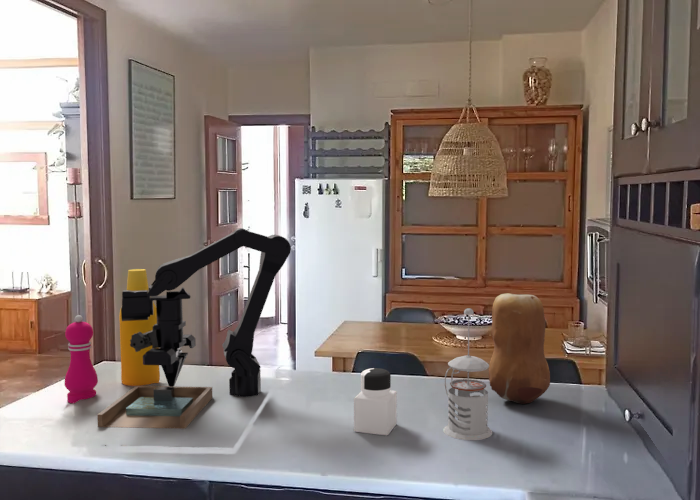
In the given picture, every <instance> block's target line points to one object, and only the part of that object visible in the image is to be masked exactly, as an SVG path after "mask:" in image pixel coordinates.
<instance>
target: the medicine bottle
mask: <svg viewBox="0 0 700 500" xmlns="http://www.w3.org/2000/svg"><path fill="white" fill-rule="evenodd" d="M391 376H392V375H391V372H390V371H389V370H387V369H385V368H379V367H378V368H374V367H373V368H367V369H365V370H362V372H360V392H359V393H358V394H357V395H356V396H355V397H354V398H353V431H354V432H356V433H363V434H371V435H378V436H388V435H390V433H391V431H392V430H393V429H394V428H395V427H396V425H397V424H398V418H397V417H398V415H397V414H398V413H397V412H398V411H397V409H398V404H397V403H398V396H397V395H398V392H397V391H396V390H391V389H392V388H391V387H392V386H391V384H392V383H391V381H392V379H391Z"/></svg>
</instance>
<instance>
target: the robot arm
mask: <svg viewBox="0 0 700 500" xmlns="http://www.w3.org/2000/svg"><path fill="white" fill-rule="evenodd" d="M242 247H243V248H244V247H245V248H247V249H248V248H249V249H252V250H255V251H258V252H260V256H259V267H258V268H259V269H258V271H257V274H256V277H255V280H254V283H253V285H252V287H251V290H250V293H249V296H248V299H247V301H246V304H245V307H244V309H243V312H242V314H241V317H240V320H239V323H238V325H237V326H236V328H235V329H234V330H233V331H232V330H230V329H227V332H226V337H225V339H224V342H223V343H222V344H221V345H222V349H223V355H224V358H225V361H226V363H227V365H229V367H230V368H232V369H233V370H232V371H231V373H230V374H231V376H230V377H229V382H228V383H229V387H228V388H229V389H228V390H229V395H230V396H236V397H240V398H241V397H242V398H245V397H246V398H247V397H248V398H249V397H254V396H259V395H260V393H261V382H262V381H261V378H262V377H261V365H260V363H259V362H258V359H257V357H256V356H255V355H254V354H253V348H254V341H255V340H254V339H255V331H256V329H257V326H258V324H259V321H260V318H261V315H262V312H263V309H264V307H265V304H266V302H267V299H268V296H269V293H270V291H271V288H272V286H273V283H274V280H275V278H276V276H277V274H278V273H279V272H280V270H281V269H282V267H283V266H284V264H285V263H286V261H287V259H288V258H289V256H290V254H291V251H292V247H291V244H290V242H289V240H288V239H287V238H286V237H284V236H282V235H279V234H271V235H269V236H267V235H263V234H259V233H256V232H252V231H249V230H247V229H244V228H236V229H235V230H234V231H232V232H230V233H229V234H227V235H225V236H224V237H222V238H220V239H218V240H216V241H214V242H213V243H211V244H209V245H206V246H204V247H203V248H201V249H199V250H197V251H196V252H193V253H192V254H189V255H187V256H186V255H185V256H183V257H179V258H176V259H173V260H169V261H167V262H164V263H161V265H159V266H158V267H157V268H156V271H155V274H154V275H155V277H154V280H153V281H152V283H151V284H150V285H149V284H148V288H149V289H148V290H142V291H131V290H127V289H125V290H124V289H123V290H122V292H121V307H120V309H121V317H122V321H136V320H148V317H150V315H153V302H154V301H155V306H156V314H157V324H155V325H154V326H153V330H151V331H148V332H146V333H143V334H142V333H141V332H138V333H136V334H133V335H132V338H131V340H130V341H131V344H130V346H131V347H133V348H135V351H136V352H138V351H140V350H141V349H144V348H146V347H149V346H152V349H150V350H149V351H147V352H146V353H145V354H144V355H143V365H159V366H160V367H161V368H162V371H163V373H164V376H165V379H166V381H167V385H168V386H170V387H173V386H175V385H176V382H177V380H178V378H179V375H180V374H181V371H182V368H183V366H184V364H185V361H186V359H187V356H188V355H189V352H183V350H182V349H181V348H183V347H189V349H193V348H195V347H196V345H197V344H196V337H194V335H193V334H184V327H185V326H187V324H186V320H184V317H183V316H184V315H183V314H184V313H183V300H189V299H191V294H190V293H189V292H188V291H187V290H186V289H185V287H181V288H180V289H179V290H176V289H177V288H178V287H180V286H181V285H183V284H184V283H185V282H187V280H189V279H190V277H191V276H193V275H195V273H197V272H198V271H199V270H201V269H203V268H205V267H207V266H208V265H209V266H210V265H211V264H213V263H214V262H216V261H218V260H220V259H222V258H223V257H225V256H227V255H229V254H231V253H232V252H235V251H236V250H238V249H240V248H242ZM173 290H174V291H173ZM165 291H166V293H165V295H163V294H162V293H164V292H165ZM160 294H162V295H160ZM150 296H151V297H150Z"/></svg>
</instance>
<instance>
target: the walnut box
mask: <svg viewBox="0 0 700 500" xmlns="http://www.w3.org/2000/svg"><path fill="white" fill-rule="evenodd" d="M156 387H170V386H169V385H168V386H166V385H162V386H161V385H141V386H133V388H131V389H129V390H128V391H127V392H125V393H124V394H123V395H121V396H120V397H119V398H117V399H116V400H115V401H113V402H112V403H110V404H109V406H107V407H105V408H104V409H103V410H101V411H100V412H99V413H97V414H96V416H97V417H96V418H97V428H129V429H130V428H133V429H134V428H136V429H140V428H141V429H182V430H184V429H185V430H186V429H187V427H188V426H189V425H190V423H192V422H193V421H194V419H195V418H197V416H198V415H199V414H200V413H201V412H202V410H203V409H204V408H205V407H206V406H207V405H208V403H209V402H210V401H211V400H212V399H213V398H214V397H213V386H175V385H174V386H173V387H174V393H175V397H177V398H193V403H192V404H191V405H190V406H189V407H188V408H187V409H186V410H185V411H184V412H183V413H182V414H181V415H180V416H133V415H126V408H127V407H128V406H130V405H131V404H132V403H133V402H135V401H136V400H137V399H138V398H140V397H154V391H153V390H154V389H155V388H156Z"/></svg>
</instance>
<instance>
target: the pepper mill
mask: <svg viewBox="0 0 700 500" xmlns="http://www.w3.org/2000/svg"><path fill="white" fill-rule="evenodd" d="M83 320H84V319H83V316H82V315H80V314H77V315H76V316H75V317H74V321H73V322H72V323H70V324H68V326H66V328H65V335H64V337H65V339H66V340H67V341H68V344H67V346H68V349H67V350H69V352H70V362H69V366H68V368H67V371H66V373H65V378H64V387H65V388H66V390H68V391H69V392H68V393H67V396H66V398H67V403H70V404H73V405H74V404H76V403H77V402H79V401H80V400H81V401H82V400H88V399H91V398H93V397H95V396H96V395H97V391H96V389H95V388H96V386H97V385H98V383H99V380H98V379H99V378H98V374H97V371H96V369H95V367H94V365H93V363H92V361H91V360H92V359H91V355H90V351H91V350H90V349H92V342H91V339H92V338H93V337H94V329H93V328H94V327H92V325H91V324H90V323H88V322H86V321H83Z"/></svg>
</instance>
